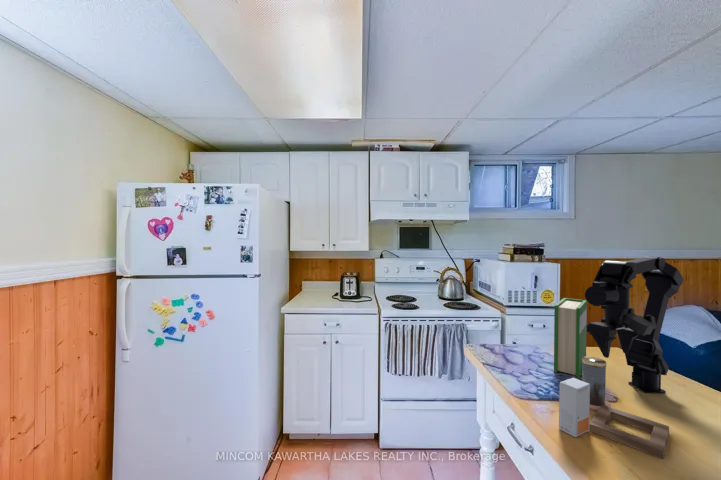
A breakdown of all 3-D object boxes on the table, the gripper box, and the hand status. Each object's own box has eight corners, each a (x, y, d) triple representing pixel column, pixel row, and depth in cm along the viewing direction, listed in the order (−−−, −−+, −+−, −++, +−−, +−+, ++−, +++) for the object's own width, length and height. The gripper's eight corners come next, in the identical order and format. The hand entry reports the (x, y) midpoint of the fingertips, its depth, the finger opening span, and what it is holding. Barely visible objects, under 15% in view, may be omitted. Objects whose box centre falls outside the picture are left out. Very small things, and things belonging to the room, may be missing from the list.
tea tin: (601, 398, 93) (601, 357, 93) (609, 408, 88) (609, 365, 87) (578, 394, 95) (579, 355, 95) (585, 404, 89) (585, 362, 89)
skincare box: (576, 438, 76) (576, 389, 76) (558, 428, 79) (558, 381, 79) (590, 431, 78) (590, 383, 78) (572, 422, 82) (572, 376, 82)
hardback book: (578, 378, 108) (579, 308, 107) (553, 372, 112) (554, 305, 112) (585, 362, 121) (586, 300, 120) (563, 357, 126) (563, 297, 125)
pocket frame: (601, 410, 88) (601, 404, 88) (668, 433, 78) (669, 426, 78) (589, 430, 79) (589, 423, 79) (663, 459, 69) (663, 451, 69)
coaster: (596, 396, 95) (596, 394, 95) (618, 411, 87) (618, 408, 87) (570, 397, 95) (570, 394, 95) (589, 411, 87) (589, 408, 87)
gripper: (628, 312, 83) (628, 371, 83) (669, 306, 90) (668, 360, 90) (585, 303, 93) (584, 356, 93) (624, 298, 100) (623, 347, 100)
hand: (616, 355), depth 94 cm, fingers open, 9 cm apart
